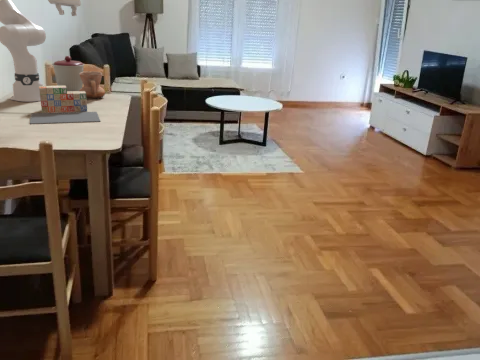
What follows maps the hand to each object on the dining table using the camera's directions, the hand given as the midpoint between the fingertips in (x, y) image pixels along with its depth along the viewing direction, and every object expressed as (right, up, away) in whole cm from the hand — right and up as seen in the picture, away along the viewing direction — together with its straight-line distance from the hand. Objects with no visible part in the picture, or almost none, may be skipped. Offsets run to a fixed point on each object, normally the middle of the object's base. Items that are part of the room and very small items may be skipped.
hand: (68, 15), depth 215 cm
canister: (-22, -24, +62) cm, 70 cm away
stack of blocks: (-7, -43, +15) cm, 46 cm away
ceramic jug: (-4, -30, +48) cm, 57 cm away
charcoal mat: (-2, -48, +1) cm, 48 cm away
